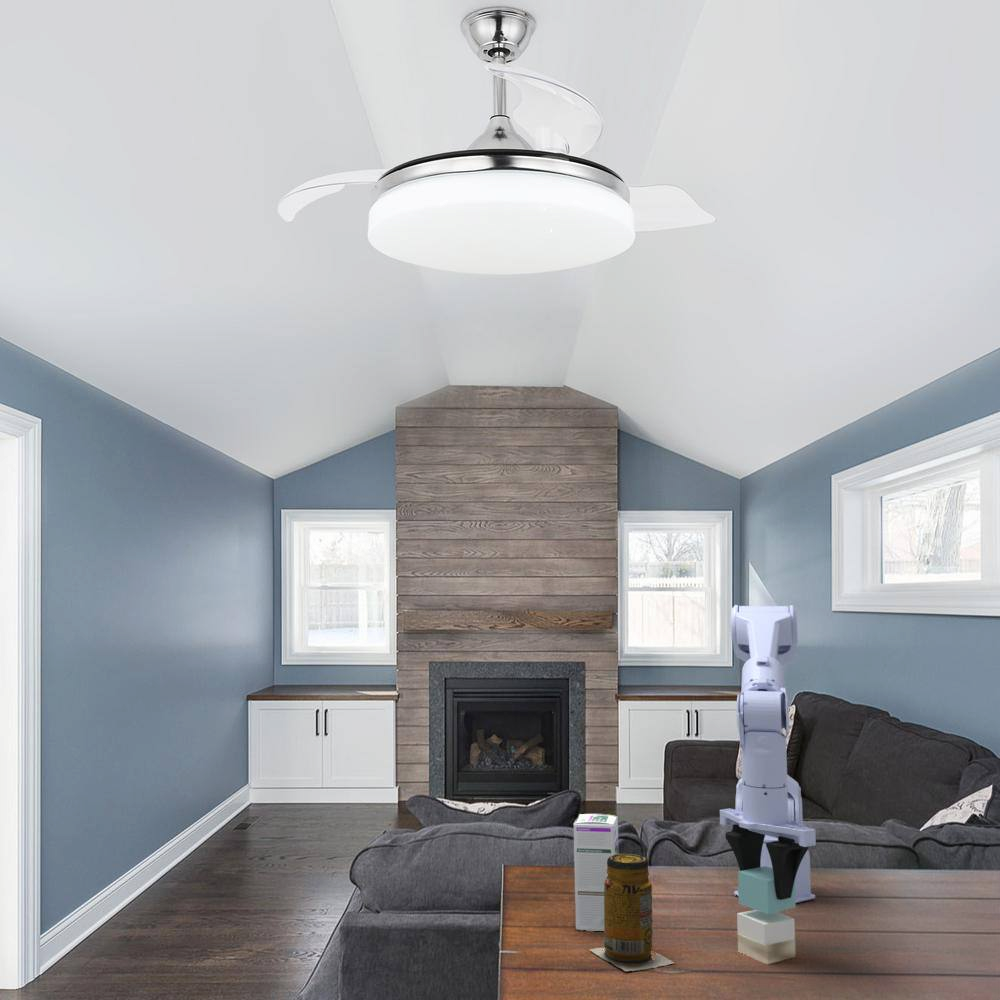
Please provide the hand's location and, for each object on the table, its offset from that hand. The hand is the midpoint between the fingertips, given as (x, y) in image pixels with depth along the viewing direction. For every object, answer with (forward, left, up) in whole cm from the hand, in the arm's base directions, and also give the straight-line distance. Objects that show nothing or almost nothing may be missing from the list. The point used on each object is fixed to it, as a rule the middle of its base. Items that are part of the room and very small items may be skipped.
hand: (767, 892), depth 126 cm
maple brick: (+1, 0, -8) cm, 8 cm away
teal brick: (0, 0, -2) cm, 2 cm away
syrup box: (+12, -20, -8) cm, 25 cm away
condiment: (+16, -8, -8) cm, 19 cm away
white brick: (+1, 0, -5) cm, 5 cm away
